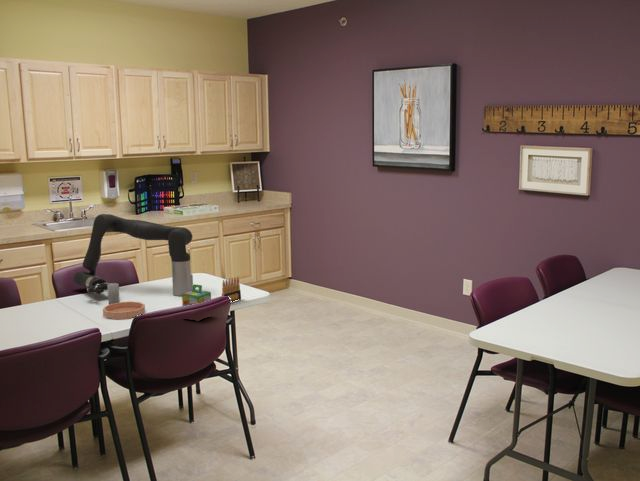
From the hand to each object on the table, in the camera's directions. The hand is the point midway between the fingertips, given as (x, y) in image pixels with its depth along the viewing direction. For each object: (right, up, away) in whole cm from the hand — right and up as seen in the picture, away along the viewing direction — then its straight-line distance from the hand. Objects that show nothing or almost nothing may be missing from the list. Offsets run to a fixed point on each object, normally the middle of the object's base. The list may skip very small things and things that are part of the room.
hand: (108, 290), depth 297 cm
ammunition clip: (+59, -6, 0) cm, 59 cm away
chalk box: (+47, -10, -25) cm, 55 cm away
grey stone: (+4, -7, -3) cm, 8 cm away
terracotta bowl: (+13, -9, -17) cm, 23 cm away
